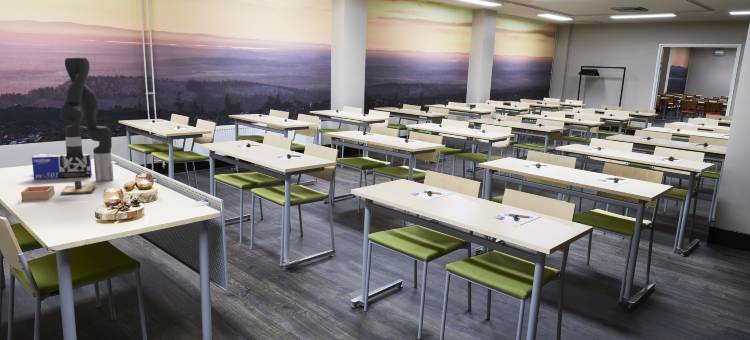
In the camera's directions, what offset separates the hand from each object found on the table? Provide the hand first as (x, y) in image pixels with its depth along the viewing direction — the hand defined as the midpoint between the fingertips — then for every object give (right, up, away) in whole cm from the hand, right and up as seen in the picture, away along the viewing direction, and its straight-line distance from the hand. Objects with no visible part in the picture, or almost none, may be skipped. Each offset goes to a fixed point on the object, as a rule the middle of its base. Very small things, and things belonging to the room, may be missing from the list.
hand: (76, 174), depth 277 cm
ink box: (-28, -3, +35) cm, 45 cm away
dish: (-13, -13, -12) cm, 21 cm away
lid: (0, -10, +2) cm, 10 cm away
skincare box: (-47, 0, +46) cm, 66 cm away
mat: (0, -10, +2) cm, 10 cm away
